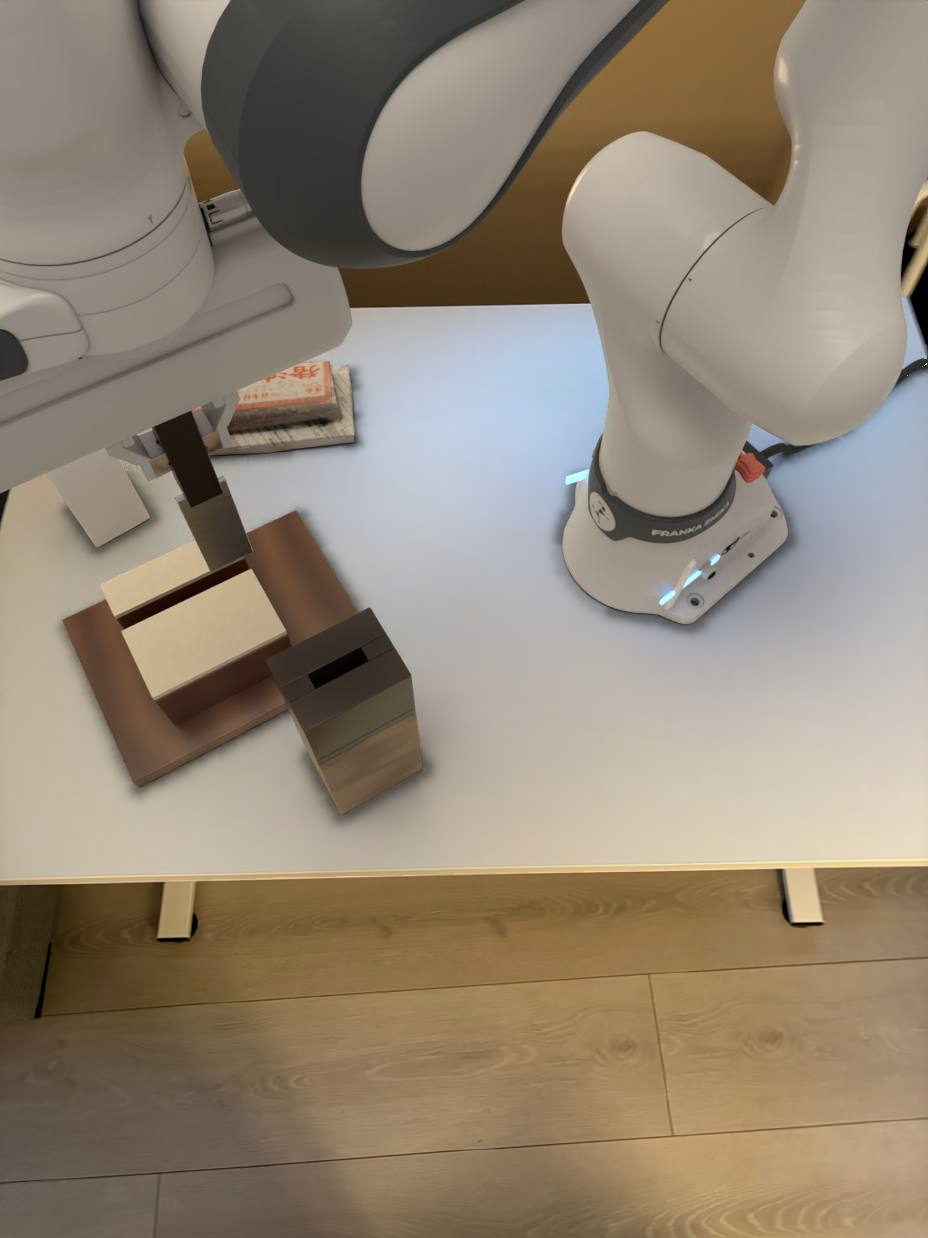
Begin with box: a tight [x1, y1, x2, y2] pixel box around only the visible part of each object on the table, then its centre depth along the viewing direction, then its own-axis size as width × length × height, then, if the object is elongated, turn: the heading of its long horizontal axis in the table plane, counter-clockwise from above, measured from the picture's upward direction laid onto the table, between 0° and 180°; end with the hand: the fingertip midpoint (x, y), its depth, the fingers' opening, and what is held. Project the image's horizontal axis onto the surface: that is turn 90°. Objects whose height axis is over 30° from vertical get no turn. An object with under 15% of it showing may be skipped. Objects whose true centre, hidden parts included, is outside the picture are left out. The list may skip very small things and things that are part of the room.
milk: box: [45, 448, 151, 548], centre depth 82 cm, size 6×6×22 cm
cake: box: [121, 569, 292, 725], centre depth 80 cm, size 12×7×7 cm, turn 120°
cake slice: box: [99, 539, 250, 630], centre depth 83 cm, size 12×4×6 cm, turn 120°
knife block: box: [266, 606, 423, 816], centre depth 71 cm, size 8×6×21 cm
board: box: [61, 509, 359, 788], centre depth 85 cm, size 24×18×2 cm
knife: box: [151, 411, 253, 572], centre depth 52 cm, size 3×2×16 cm, turn 121°
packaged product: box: [191, 360, 356, 456], centre depth 95 cm, size 18×5×10 cm
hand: (185, 454), depth 49 cm, fingers closed on knife, 2 cm apart
